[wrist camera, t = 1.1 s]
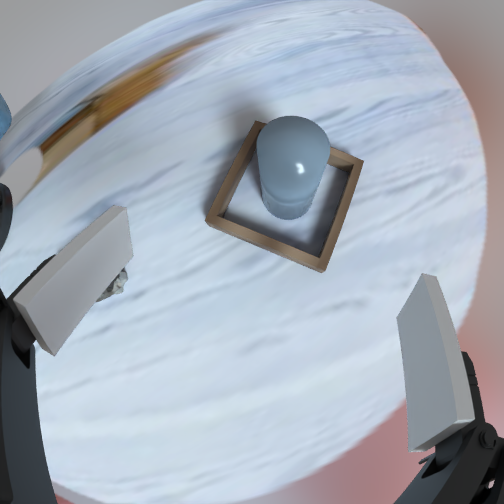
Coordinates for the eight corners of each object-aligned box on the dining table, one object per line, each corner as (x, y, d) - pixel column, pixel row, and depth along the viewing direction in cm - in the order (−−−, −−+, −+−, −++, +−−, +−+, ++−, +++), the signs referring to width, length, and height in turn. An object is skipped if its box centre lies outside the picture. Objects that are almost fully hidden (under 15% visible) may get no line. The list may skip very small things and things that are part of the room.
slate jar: (254, 208, 34) (244, 162, 22) (273, 165, 35) (273, 107, 23) (302, 227, 33) (316, 189, 22) (319, 183, 34) (338, 130, 22)
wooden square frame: (209, 226, 34) (204, 220, 32) (256, 131, 36) (255, 120, 33) (321, 273, 32) (325, 270, 30) (358, 169, 34) (363, 161, 32)
